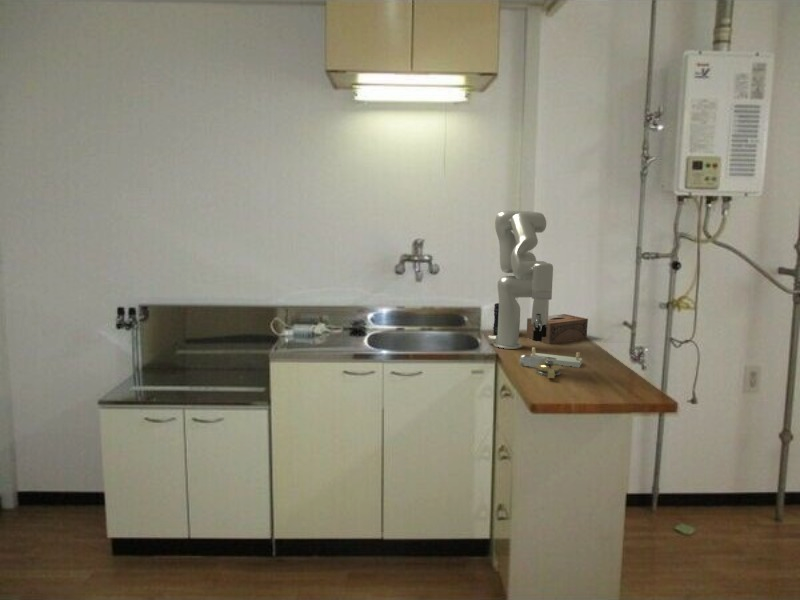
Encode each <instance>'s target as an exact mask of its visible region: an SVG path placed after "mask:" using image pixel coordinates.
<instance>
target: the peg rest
mask: <svg viewBox="0 0 800 600" xmlns="http://www.w3.org/2000/svg"><path fill="white" fill-rule="evenodd" d="M530 355H536V356H544V357H553V358H556V364H558V365H560V366H562V365H563V366H564V367H570V366H572V368H580V367H581V365H582V363H583V358H582V357H581V352H579V351H578V352H576V353H575V357H573V356H567V355H556V354H548V353H547V354H546V353H541V352H540V353H538V352H536V347H531V354H530Z"/></svg>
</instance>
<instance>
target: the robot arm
mask: <svg viewBox="0 0 800 600" xmlns="http://www.w3.org/2000/svg"><path fill="white" fill-rule="evenodd" d="M494 226H495V227H494V228H495V233H496V236H497V238H498V239H497V240H498V242H499V243H498V245H499V262H500V263H499V265H500V269H501V271H502V272H503V273H506V274H513V275H505V276H501V277H500V278H499V279H498V281H497V294H498V303H499V314H498V335H496V336H495V335H491V334H490V335H488V337H487V339H488V340H489V341H494V342H493V346H494V347H496V348H498V347H499V348H498V349H503V348H504V349H505V350H506V349H507V350H517V349H522V348H523V344H522V343H521V342H520V327H521V326H520V323H521V306H520V304H519V302H518V301H517V300H516V299H518V298H531V299H532V300H533V301H532V308H531V309H532V310H531V318H532V319H531V324H532V325H533V324H535V325H534V330H533V340H532V341H534V342H538V341H542V337H546V332H547V327H546V326H547V321H548V316H549V309H550V308H549V307H550V301H551V300H552V299H553V281H554V279H553V278H554V266H553V264H552V263H550V262H549V263H548V262H546V261H542V260H541V261H540V260H537V258H536V256H535V254H534V253H533V252H530V251H532V250H533V249H535V248H536V247H537V245H538V243H539V241H538V237H537V233H538V234H539V233H544V231H545V230H546V229H547V219H546V217H545V215H544V214H543V213H541V212H538V211H530V210H529V211H526V210H524V211H523V210H505V211H501V212H500V211H499V213H497V214H496V216H495V221H494Z"/></svg>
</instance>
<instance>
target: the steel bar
mask: <svg viewBox="0 0 800 600" xmlns="http://www.w3.org/2000/svg"><path fill="white" fill-rule="evenodd" d="M545 361H553V363H555V364H556V358H553V357H544V356H536V355H531V354H524V353H523V354H520V355H519V366H520V365H522V366H521V367H524V366H529V367H528V368H532V367H538V364H539V363H543V362H545Z"/></svg>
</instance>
